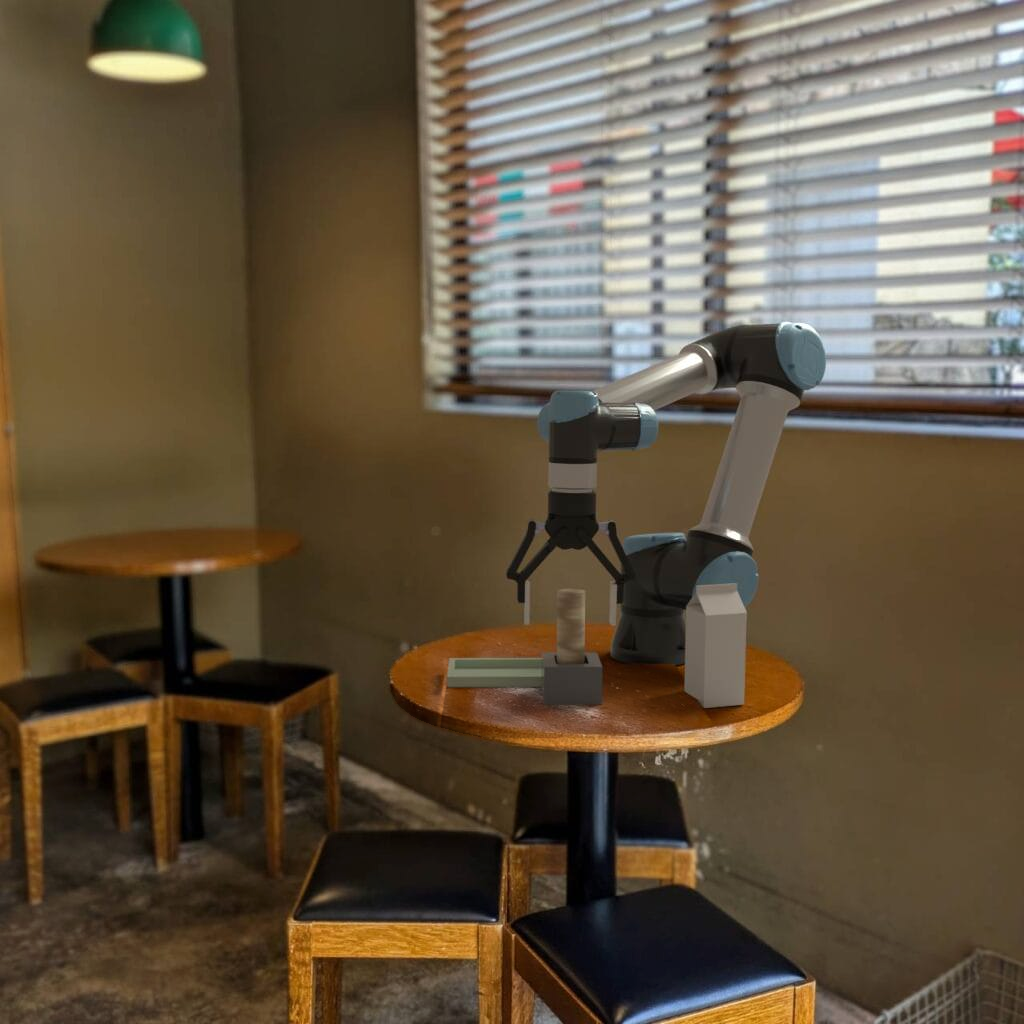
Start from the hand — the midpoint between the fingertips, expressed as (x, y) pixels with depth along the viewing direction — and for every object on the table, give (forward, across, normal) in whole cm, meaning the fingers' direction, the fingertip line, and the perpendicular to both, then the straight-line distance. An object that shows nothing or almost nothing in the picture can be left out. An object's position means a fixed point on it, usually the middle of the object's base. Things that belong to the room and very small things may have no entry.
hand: (569, 623), depth 174 cm
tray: (+13, +11, -12) cm, 20 cm away
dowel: (+12, 0, 0) cm, 12 cm away
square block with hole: (+13, 0, 0) cm, 13 cm away
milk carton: (+13, -23, -1) cm, 27 cm away
